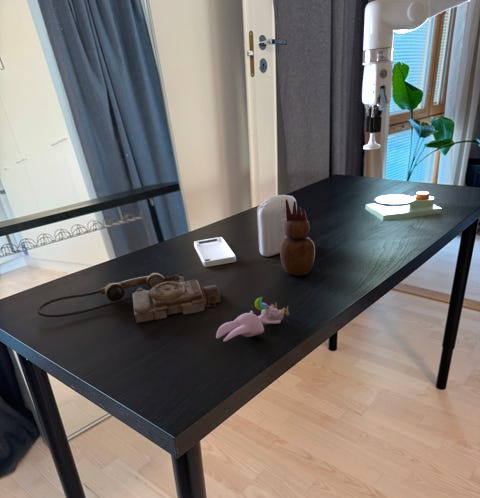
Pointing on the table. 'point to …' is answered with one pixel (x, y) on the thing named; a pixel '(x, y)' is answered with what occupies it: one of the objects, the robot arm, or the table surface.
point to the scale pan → (394, 200)
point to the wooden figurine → (297, 243)
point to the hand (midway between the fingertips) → (372, 131)
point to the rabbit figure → (252, 321)
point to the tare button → (422, 195)
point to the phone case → (214, 252)
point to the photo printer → (272, 223)
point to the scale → (405, 209)
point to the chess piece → (372, 143)
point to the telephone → (154, 297)
